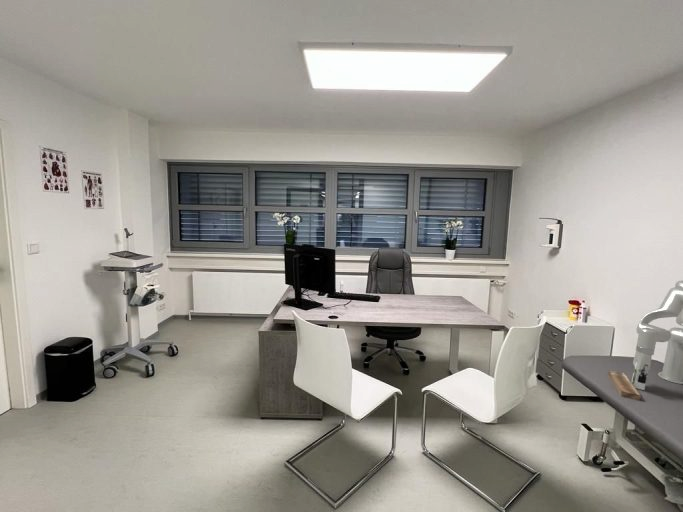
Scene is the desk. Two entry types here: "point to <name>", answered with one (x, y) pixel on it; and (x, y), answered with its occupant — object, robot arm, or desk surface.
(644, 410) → the desk surface
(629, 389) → the walnut board
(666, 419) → the desk surface
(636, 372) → the syrup box
